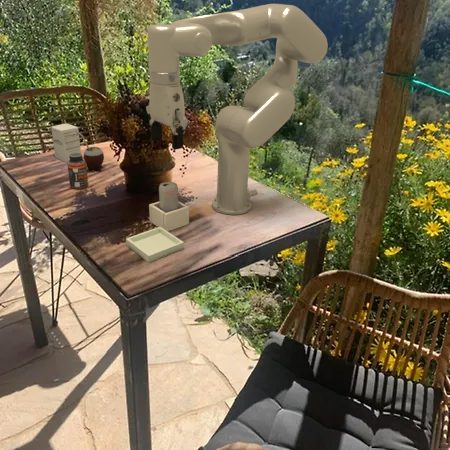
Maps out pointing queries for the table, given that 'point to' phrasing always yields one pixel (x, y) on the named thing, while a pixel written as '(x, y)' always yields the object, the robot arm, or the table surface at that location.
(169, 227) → the can holder
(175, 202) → the energy drink
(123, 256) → the table surface
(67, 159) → the supplement box
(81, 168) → the supplement bottle
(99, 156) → the mate gourd
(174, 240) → the tray
